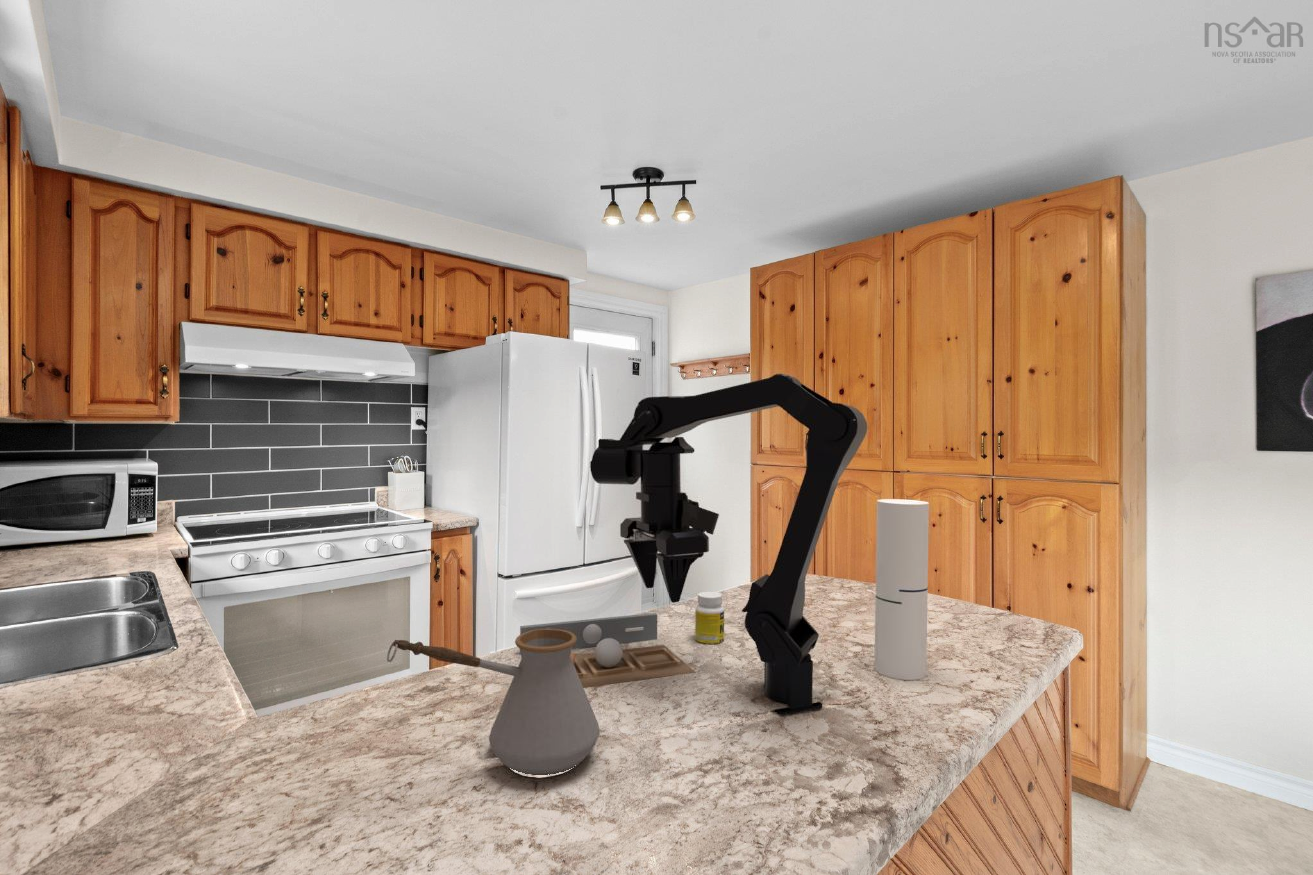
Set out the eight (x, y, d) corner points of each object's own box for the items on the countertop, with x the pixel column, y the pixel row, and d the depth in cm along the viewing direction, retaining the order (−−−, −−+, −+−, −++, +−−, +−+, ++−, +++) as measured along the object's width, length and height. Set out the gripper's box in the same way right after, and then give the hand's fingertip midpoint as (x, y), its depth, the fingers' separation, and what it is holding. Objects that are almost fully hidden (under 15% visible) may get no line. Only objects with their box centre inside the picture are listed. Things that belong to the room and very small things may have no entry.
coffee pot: (573, 724, 74) (575, 598, 74) (617, 770, 64) (619, 624, 64) (378, 771, 63) (379, 624, 63) (394, 835, 54) (396, 660, 53)
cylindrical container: (931, 682, 89) (934, 505, 88) (878, 677, 90) (880, 503, 90) (920, 663, 96) (923, 500, 95) (871, 659, 97) (873, 498, 97)
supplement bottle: (725, 651, 100) (725, 598, 100) (695, 650, 100) (696, 598, 100) (722, 641, 105) (723, 590, 105) (694, 640, 105) (694, 590, 105)
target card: (657, 645, 102) (658, 614, 102) (521, 661, 94) (521, 628, 94) (654, 643, 103) (655, 612, 103) (519, 658, 95) (520, 626, 95)
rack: (695, 679, 88) (695, 667, 88) (539, 701, 80) (539, 688, 80) (663, 651, 100) (664, 641, 100) (524, 668, 92) (524, 657, 92)
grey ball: (626, 669, 89) (626, 641, 89) (598, 673, 87) (599, 644, 87) (617, 660, 93) (617, 633, 93) (591, 663, 91) (591, 636, 91)
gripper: (743, 487, 84) (744, 603, 84) (683, 480, 102) (684, 576, 101) (667, 490, 80) (668, 613, 80) (618, 482, 97) (619, 583, 97)
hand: (661, 594), depth 90 cm, fingers open, 9 cm apart
